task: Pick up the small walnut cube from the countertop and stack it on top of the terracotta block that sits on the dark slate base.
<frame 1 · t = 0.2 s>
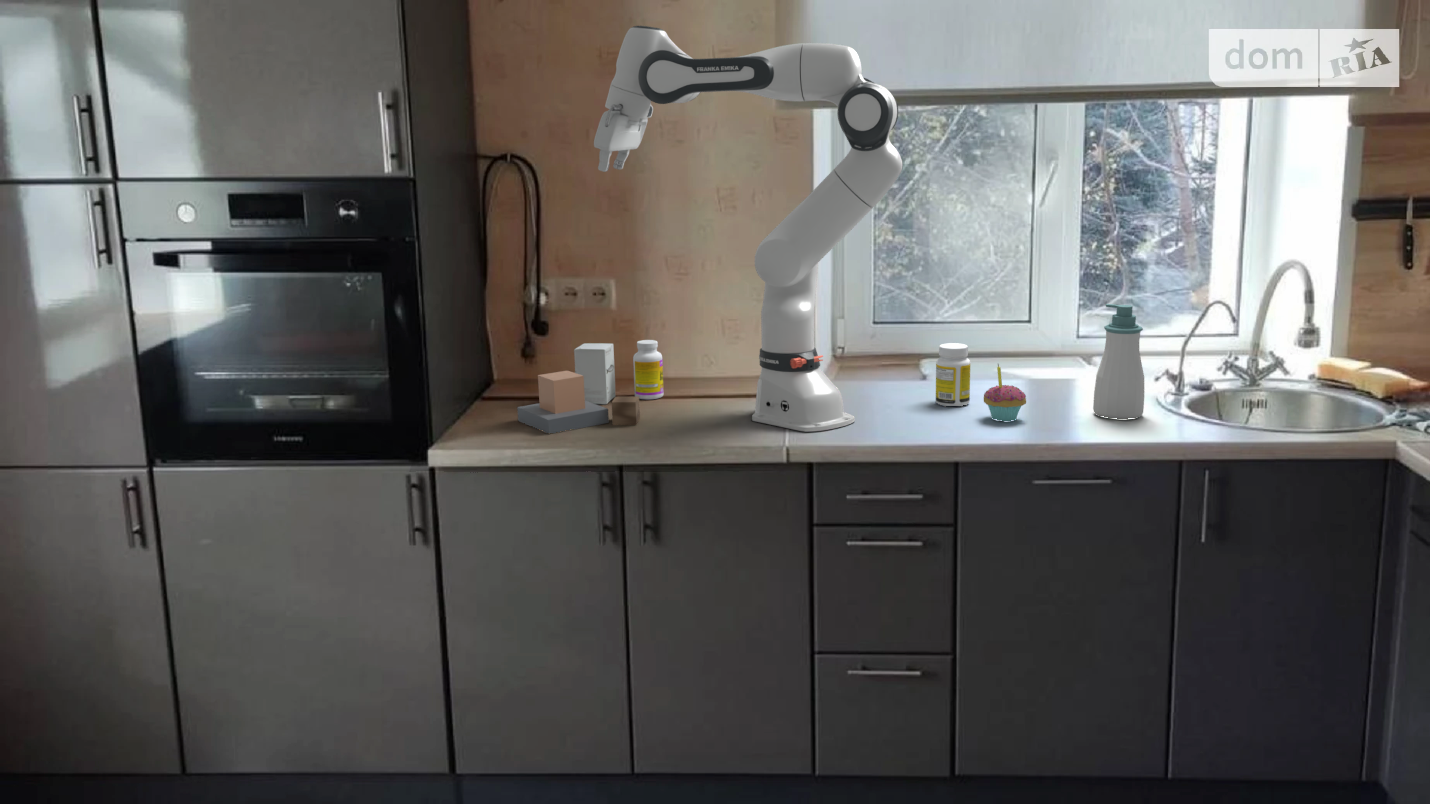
hand: (610, 169, 239), 51 cm above the table, tool tilted 20°, fingers open, 8 cm apart
terracotta block: (562, 407, 240), point 3 cm above the table, touching base slab
base slab: (563, 421, 241), on the table
walnut block: (626, 422, 240), on the table
supplement bottle 2: (649, 397, 261), on the table
supplement bottle: (952, 404, 249), on the table
soap bottle: (1117, 416, 236), on the table
supplement box: (596, 401, 259), on the table
cupcake: (1003, 420, 235), on the table
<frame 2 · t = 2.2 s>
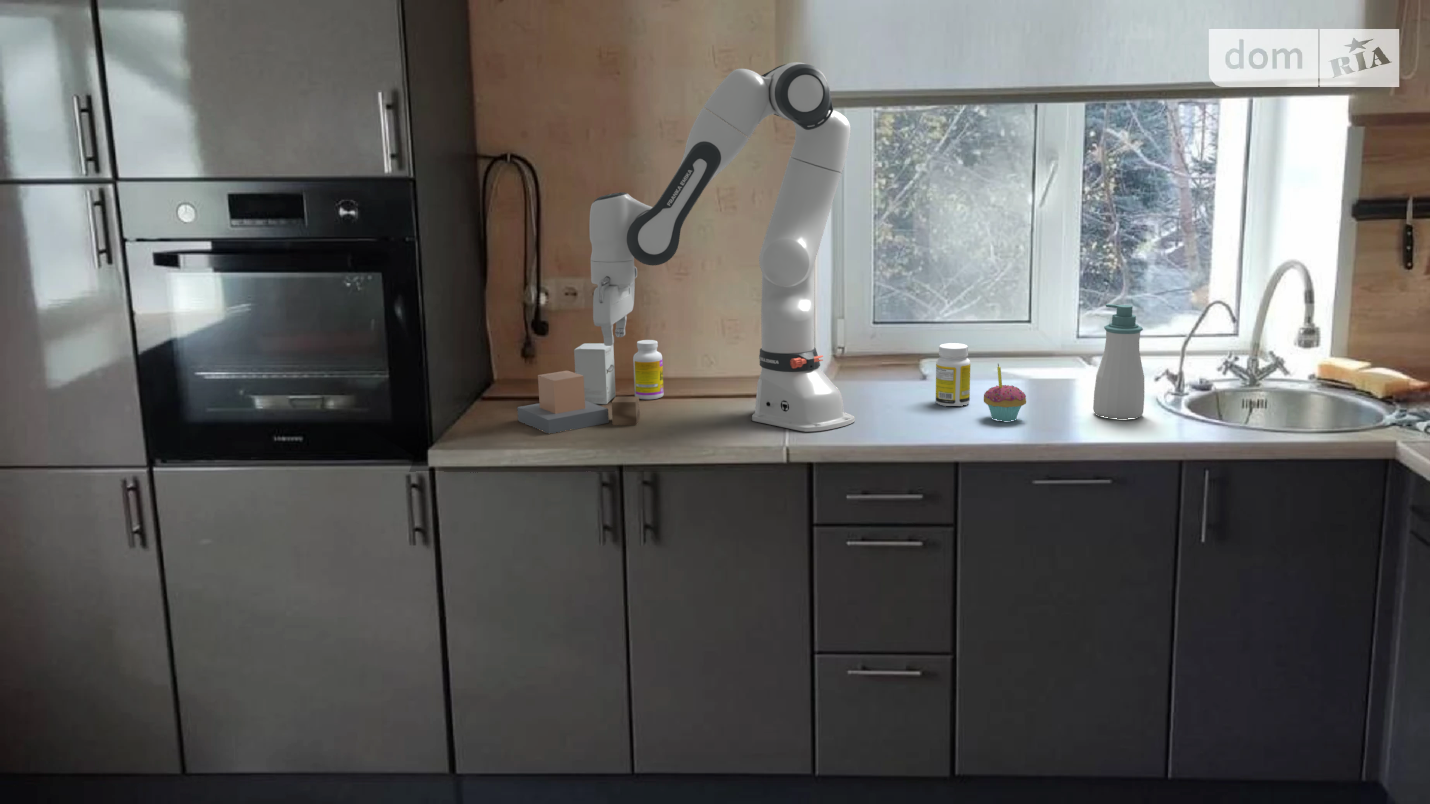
hand: (614, 340, 236), 17 cm above the table, tool pointing down, fingers open, 8 cm apart
nothing on the table moved.
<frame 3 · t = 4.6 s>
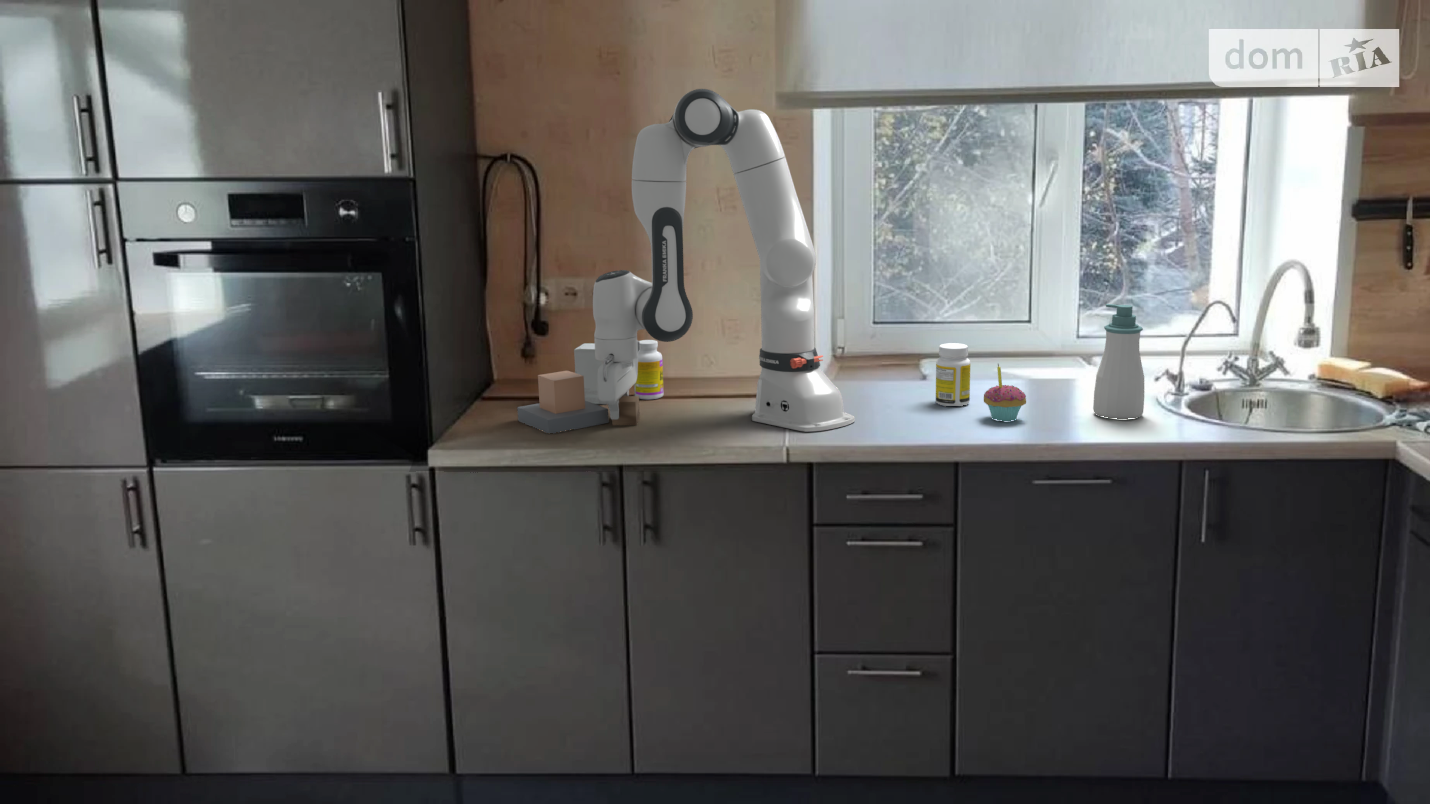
hand: (619, 414, 239), 2 cm above the table, tool pointing down, fingers closed on walnut block, 5 cm apart
walnut block: (626, 422, 240), on the table, touching gripper
everything else where it was.
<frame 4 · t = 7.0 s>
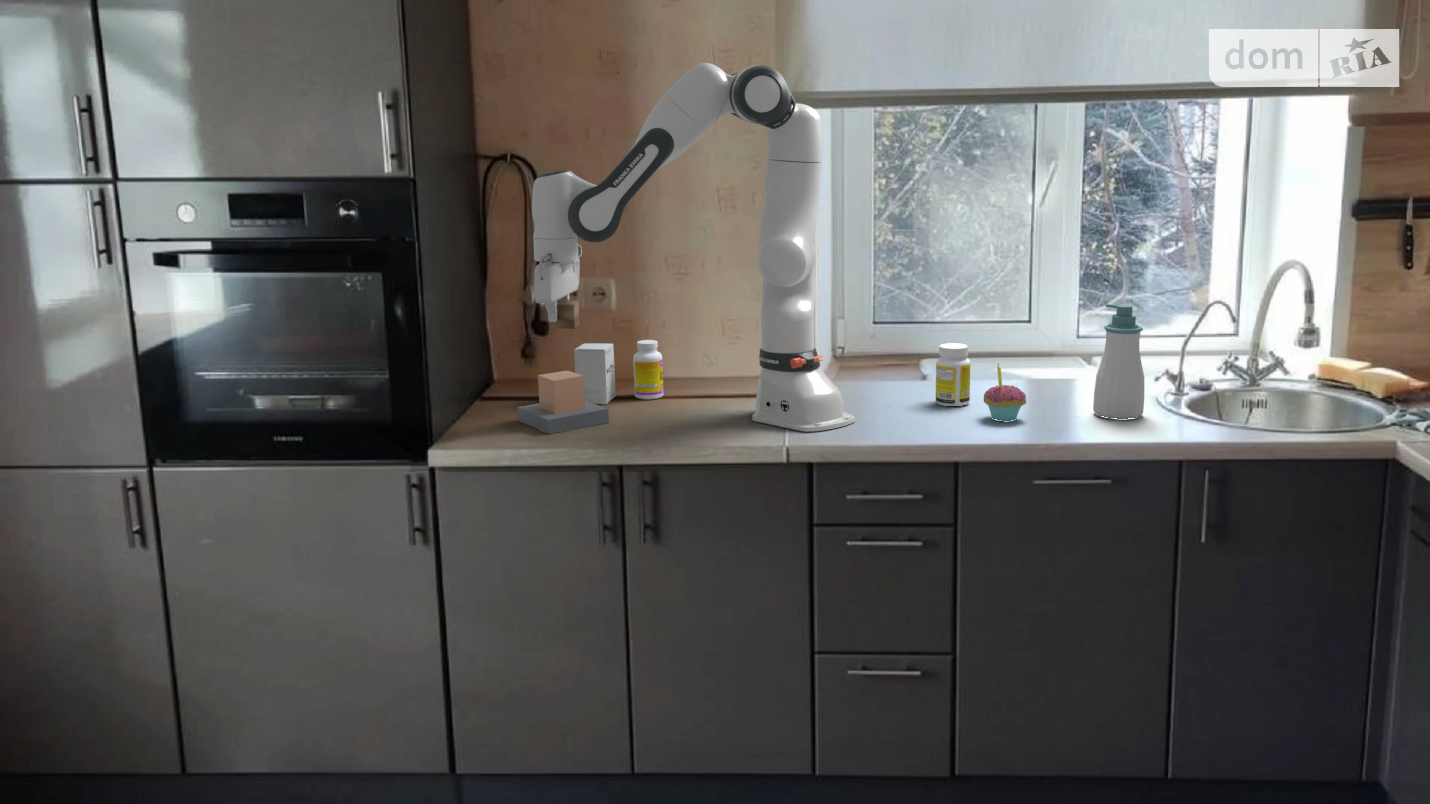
hand: (558, 318, 236), 22 cm above the table, tool pointing down, fingers closed on walnut block, 5 cm apart
walnut block: (565, 326, 236), point 20 cm above the table, touching gripper
everything else where it was.
when the fingers open (13 cm above the table, at t = 9.4 s): walnut block drops 1 cm, resting on terracotta block.
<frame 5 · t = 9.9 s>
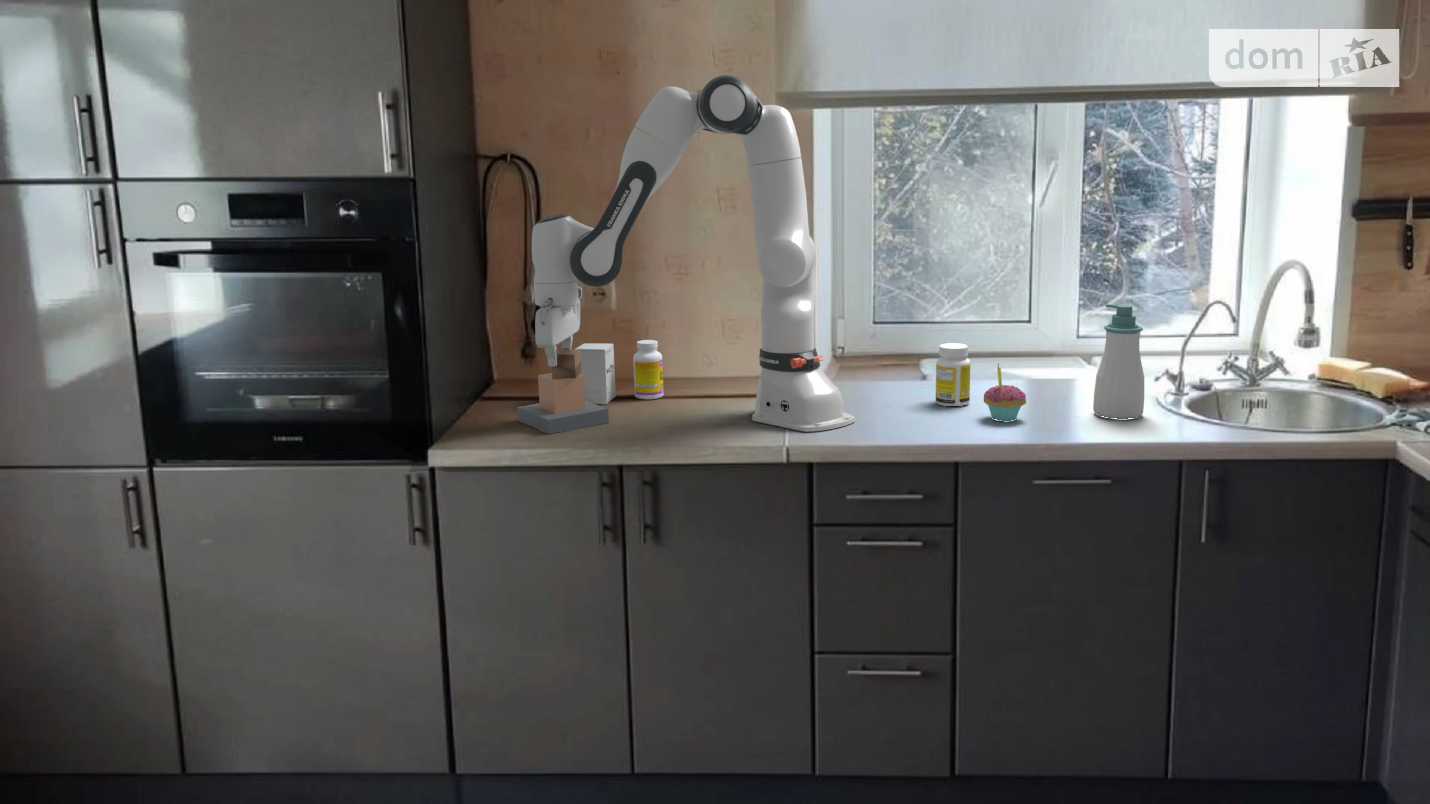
hand: (560, 361, 238), 13 cm above the table, tool pointing down, fingers open, 8 cm apart
terracotta block: (562, 407, 240), point 3 cm above the table, touching base slab, walnut block
walnut block: (567, 375, 238), point 10 cm above the table, touching terracotta block
everything else where it was.
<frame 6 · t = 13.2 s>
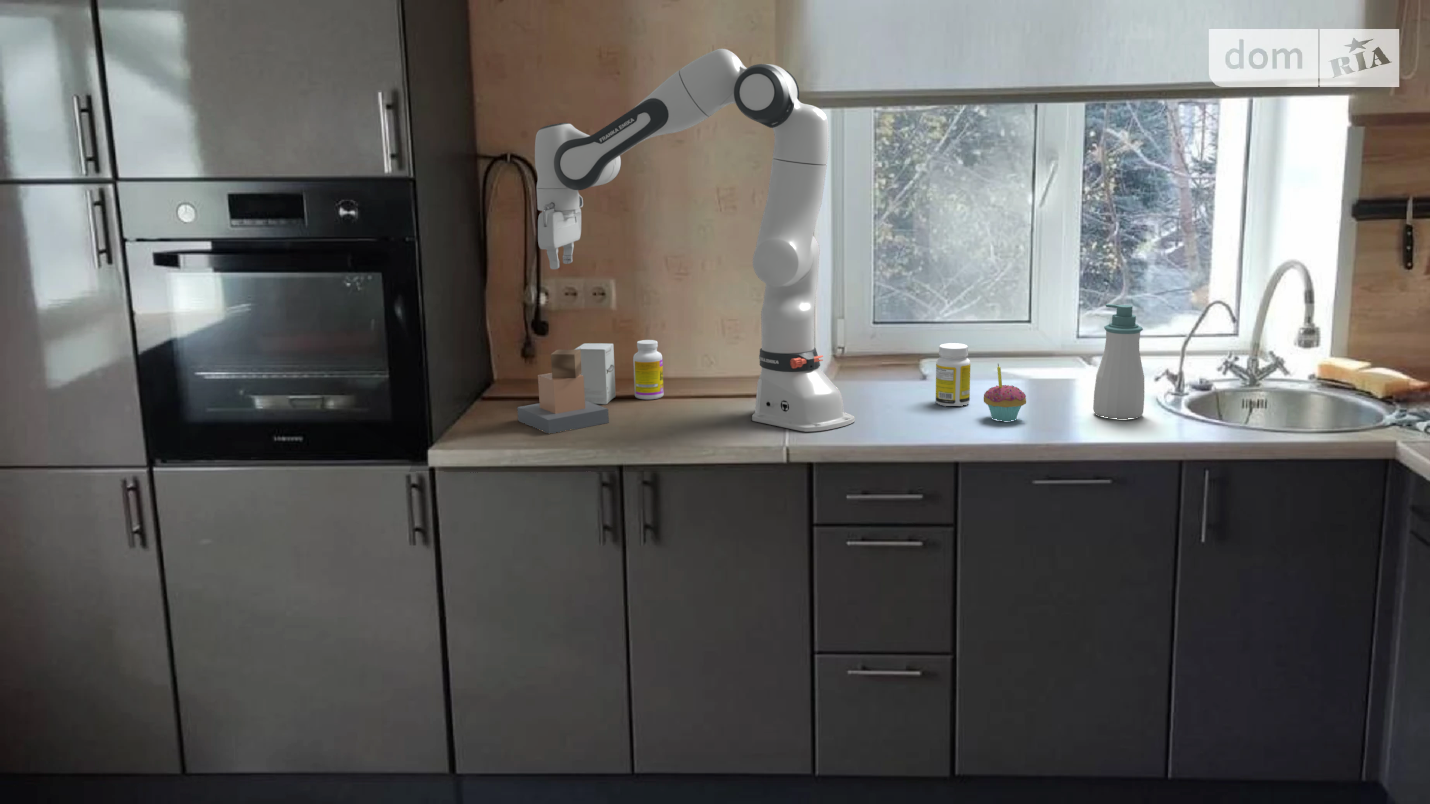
hand: (561, 266, 248), 31 cm above the table, tool pointing down, fingers open, 8 cm apart
nothing on the table moved.
at the end: walnut block 1.3 cm off-centre on the terracotta block, point 7.0 cm above the terracotta block's base; walnut block tilted 0°; the gripper is holding nothing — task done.
